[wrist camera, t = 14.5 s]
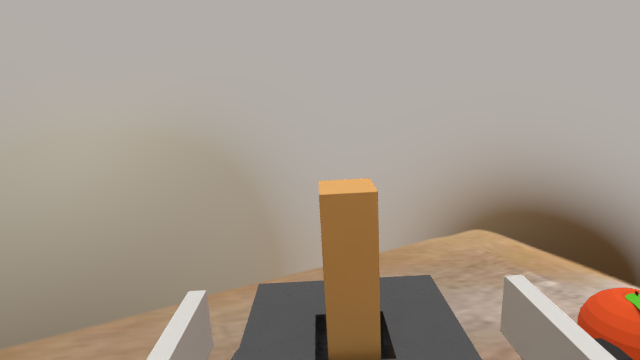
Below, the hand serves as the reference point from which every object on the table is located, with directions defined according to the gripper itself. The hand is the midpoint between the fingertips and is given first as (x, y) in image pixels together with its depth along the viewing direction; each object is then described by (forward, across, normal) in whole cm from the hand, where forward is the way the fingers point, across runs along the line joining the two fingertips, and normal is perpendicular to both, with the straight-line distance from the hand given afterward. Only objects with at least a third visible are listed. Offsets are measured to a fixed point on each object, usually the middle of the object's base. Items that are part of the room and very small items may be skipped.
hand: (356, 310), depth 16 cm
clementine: (+10, +23, -14) cm, 29 cm away
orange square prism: (+12, +1, -14) cm, 18 cm away
